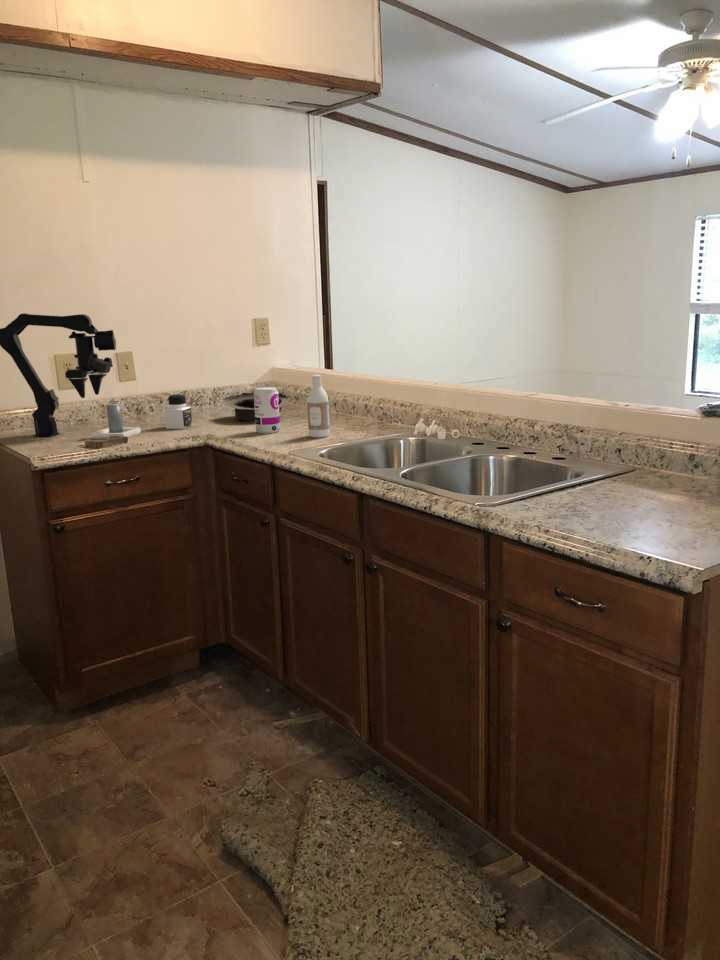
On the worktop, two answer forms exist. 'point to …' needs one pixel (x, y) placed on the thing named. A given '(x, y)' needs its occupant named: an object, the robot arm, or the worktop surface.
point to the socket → (107, 441)
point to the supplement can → (266, 410)
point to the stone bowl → (249, 405)
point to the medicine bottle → (178, 413)
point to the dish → (105, 435)
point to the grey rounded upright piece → (114, 418)
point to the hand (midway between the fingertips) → (90, 396)
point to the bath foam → (318, 410)
